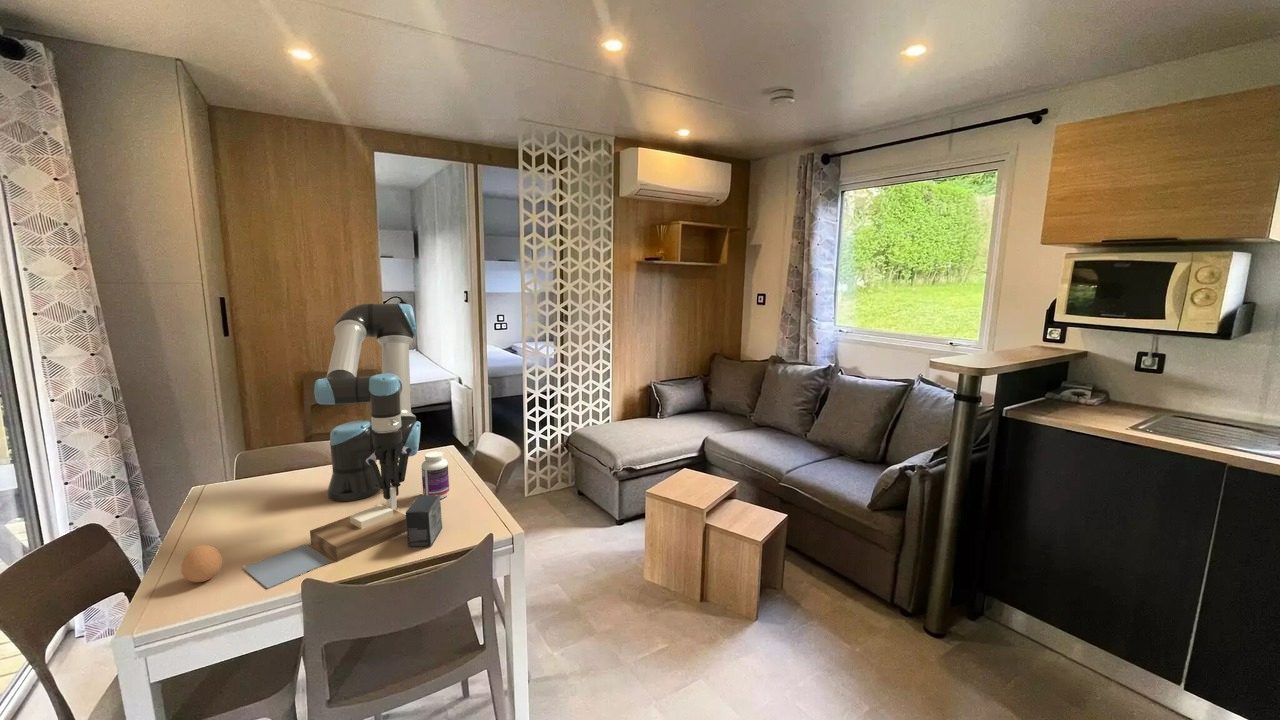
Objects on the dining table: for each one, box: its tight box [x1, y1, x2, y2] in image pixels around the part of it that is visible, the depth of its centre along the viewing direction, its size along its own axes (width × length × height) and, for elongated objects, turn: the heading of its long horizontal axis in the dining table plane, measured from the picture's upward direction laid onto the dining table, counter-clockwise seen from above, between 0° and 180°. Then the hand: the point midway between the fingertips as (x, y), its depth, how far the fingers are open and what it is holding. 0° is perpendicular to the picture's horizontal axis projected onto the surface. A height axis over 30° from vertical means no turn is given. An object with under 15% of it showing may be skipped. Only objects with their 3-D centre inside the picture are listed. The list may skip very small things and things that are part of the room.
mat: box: [242, 543, 332, 590], centre depth 128 cm, size 14×14×1 cm
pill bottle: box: [420, 451, 450, 500], centre depth 168 cm, size 8×8×14 cm
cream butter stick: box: [349, 503, 394, 529], centre depth 144 cm, size 6×9×2 cm, turn 146°
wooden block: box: [309, 503, 407, 562], centre depth 142 cm, size 14×20×4 cm
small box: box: [405, 494, 443, 549], centre depth 142 cm, size 11×6×10 cm, turn 5°
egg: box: [180, 544, 223, 583], centre depth 121 cm, size 7×7×8 cm
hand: (391, 507), depth 148 cm, fingers closed
